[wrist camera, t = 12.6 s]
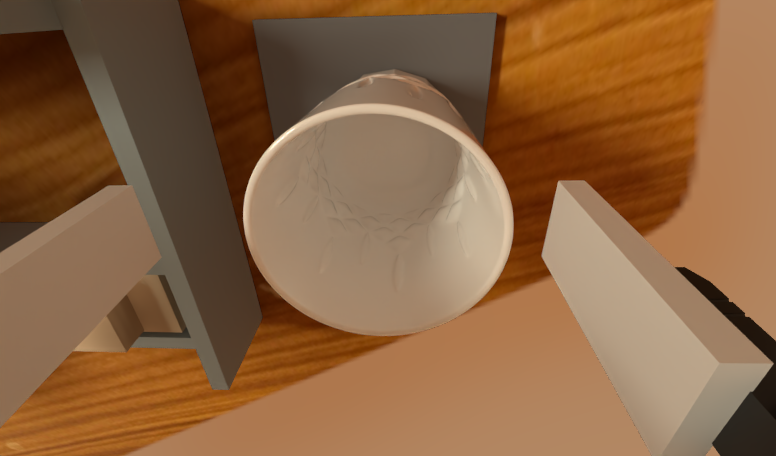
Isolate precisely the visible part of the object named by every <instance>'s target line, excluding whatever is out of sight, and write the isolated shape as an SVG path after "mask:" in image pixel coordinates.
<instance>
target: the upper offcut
mask: <svg viewBox="0 0 776 456" xmlns="http://www.w3.org/2000/svg"><path fill="white" fill-rule="evenodd" d="M143 331H144V328H143V326H142V324H141V322H140V320H139V318H138V316H137V314H136V312H135V310H134V308H133V306H132V304H131V302H130V300H129V298H128V296H127V294H126V295H125V296H124V298H123V299H122V300H121V301H120V302H119V303H118V304H117V305H116V306H115V307H114V308H113V309H112V310H111V311H110V312H109V313H108V314H107V315H106V317H105V318H104V319H103V320H102V321H101V322H100V323H99V324H98V325H97V326H96V327H95V328H94V329H93V330H92V331H91V332H90V333H89V335H88V336H87V337H86V338H85V339H84V340H83V341H82V342H81V343H80V344H79V345H78V346H77V347H76V348H75V349H74V350H73V351H96V352H127V351H128V350H129V349H130V347H131V346H132V345H133V344H134V342H135V341H136V340H137V339H138V338H139V336H140V335H141V334H142V333H143Z"/></svg>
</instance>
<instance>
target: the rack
mask: <svg viewBox="0 0 776 456" xmlns="http://www.w3.org/2000/svg"><path fill="white" fill-rule="evenodd" d="M51 30H63V31H64V33H65V36H66V38H67V40H68V43H69V45H70V48H71V50H72V52H73V55H74V57H75V60H76V62H77V64H78V67H79V69H80V72H81V74H82V77H83V79H84V81H85V84H86V86H87V89H88V91H89V93H90V96H91V98H92V101H93V103H94V105H95V108H96V110H97V113H98V115H99V117H100V120H101V122H102V125H103V127H104V129H105V132H106V134H107V137H108V139H109V141H110V144H111V146H112V149H113V151H114V154H115V156H116V158H117V161H118V163H119V166H120V168H121V170H122V173H123V175H124V178H125V180H126V182H127V185H132V186H133V189H134V191H135V194H136V196H137V199H138V201H139V203H140V206H141V208H142V211H143V213H144V216H145V218H146V220H147V223H148V225H149V228H150V230H151V233H152V235H153V238H154V240H155V242H156V245H157V247H158V250H159V252H160V255H161V258H160V260H159V261H158V262H157V263H156V264H155V265H154V266H153V267H152V268H151V269H150V270H149V271H148V272H147V273H146V274H145V275H165V276H166V279H167V281H168V283H169V286H170V288H171V291H172V293H173V295H174V298H175V300H176V303H177V305H178V308H179V310H180V312H181V315H182V317H183V320H184V322H185V324H186V328H185V329H184V331H183V332H182V333H178V332H143V333H142V334H141V335H140V336H139V338H138V339H137V340H136V341H135V342H134V344H133V345H132V346H131V347H139V348H183V349H196V351H197V353H198V356H199V358H200V360H201V363H202V365H203V368H204V370H205V372H206V375H207V377H208V380H209V382H210V385H211V387H212V389H218V390H229V388H230V386H231V384H232V382H233V380H234V378H235V376H236V373H237V371H238V369H239V367H240V365H241V363H242V361H243V359H244V356H245V354H246V352H247V350H248V348H249V346H250V344H251V342H252V339H253V337H254V335H255V333H256V331H257V329H258V327H259V324H260V322H261V320H262V318H263V316H262V313H261V309H260V305H259V302H258V298H257V294H256V290H255V287H254V283H253V279H252V275H251V272H250V268H249V264H248V260H247V257H246V253H245V249H244V245H243V242H242V238H241V234H240V230H239V227H238V223H237V219H236V215H235V212H234V208H233V204H232V200H231V197H230V193H229V189H228V186H227V182H226V178H225V174H224V171H223V167H222V163H221V159H220V156H219V152H218V148H217V144H216V141H215V137H214V133H213V129H212V126H211V122H210V118H209V114H208V111H207V107H206V103H205V99H204V96H203V92H202V88H201V84H200V81H199V77H198V73H197V69H196V66H195V62H194V58H193V55H192V51H191V47H190V43H189V40H188V36H187V32H186V28H185V25H184V21H183V17H182V13H181V10H180V6H179V2H178V0H0V34H10V33H24V32H37V31H51ZM47 223H49V222H0V252H2V251H4V250H5V249H7V248H9V247H10V246H12V245H13V244H15V243H17V242H18V241H20V240H21V239H23V238H25V237H26V236H28V235H29V234H31V233H33V232H34V231H36V230H38V229H39V228H41V227H42V226H44V225H46V224H47Z"/></svg>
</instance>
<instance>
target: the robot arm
mask: <svg viewBox="0 0 776 456" xmlns="http://www.w3.org/2000/svg"><path fill="white" fill-rule="evenodd" d="M160 258H161V255H160V252H159V250H158V247H157V245H156V242H155V240H154V238H153V235H152V233H151V230H150V228H149V225H148V223H147V220H146V218H145V216H144V213H143V211H142V208H141V206H140V203H139V201H138V199H137V196H136V194H135V191H134V189H133V186H132V185H115V186H107V187H105V188H104V189H102V190H100V191H99V192H97V193H96V194H94V195H92V196H91V197H89V198H88V199H86V200H84V201H83V202H81V203H79V204H78V205H76V206H75V207H73V208H71V209H70V210H68V211H67V212H65V213H63V214H62V215H60V216H59V217H57V218H55V219H54V220H52V221H50V222H49V223H47V224H46V225H44V226H42V227H41V228H39V229H38V230H36V231H34V232H33V233H31V234H29V235H28V236H26V237H25V238H23V239H21V240H20V241H18V242H17V243H15V244H13V245H12V246H10V247H9V248H7V249H5V250H4V251H2V252H0V427H1V426H2V425H3V424H4V423H5V422H6V421H7V420H8V419H9V418H10V417H11V416H12V415H13V414H14V413H15V412H16V411H17V409H18V408H19V407H20V406H21V405H22V404H23V403H24V402H25V401H26V400H27V399H28V398H29V397H30V396H31V395H32V394H33V393H34V392H35V390H36V389H37V388H38V387H39V386H40V385H41V384H42V383H43V382H44V381H45V380H46V379H47V378H48V377H49V376H50V375H51V374H52V373H53V371H54V370H55V369H56V368H57V367H58V366H59V365H60V364H61V363H62V362H63V361H64V360H65V359H66V358H67V357H68V356H69V355H70V354H71V352H72V351H73V350H74V349H75V348H76V347H77V346H78V345H79V344H80V343H81V342H82V341H83V340H84V339H85V338H86V337H87V336H88V335H89V333H90V332H91V331H92V330H93V329H94V328H95V327H96V326H97V325H98V324H99V323H100V322H101V321H102V320H103V319H104V318H105V317H106V315H107V314H108V313H109V312H110V311H111V310H112V309H113V308H114V307H115V306H116V305H117V304H118V303H119V302H120V301H121V300H122V299H123V298H124V296H125V295H126V294H127V293H128V292H129V291H130V290H131V289H132V288H133V287H134V286H135V285H136V284H137V283H138V282H139V281H140V280H141V279H142V277H143V276H144V275H145V274H146V273H147V272H148V271H149V270H150V269H151V268H152V267H153V266H154V265H155V264H156V263H157V262H158V261H159V260H160ZM542 258H543V260H544V262H545V264H546V265H547V267H548V269H549V271H550V273H551V274H552V276H553V278H554V280H555V282H556V284H557V285H558V287H559V289H560V291H561V293H562V294H563V296H564V298H565V300H566V302H567V303H568V305H569V307H570V309H571V311H572V312H573V314H574V316H575V318H576V320H577V321H578V323H579V325H580V327H581V329H582V330H583V332H584V334H585V336H586V338H587V340H588V341H589V343H590V345H591V347H592V349H593V351H594V352H595V354H596V356H597V358H598V360H599V361H600V363H601V365H602V367H603V369H604V370H605V372H606V374H607V376H608V378H609V379H610V381H611V383H612V385H613V387H614V389H615V390H616V392H617V394H618V396H619V398H620V399H621V401H622V403H623V405H624V407H625V408H626V410H627V412H628V414H629V416H630V417H631V419H632V421H633V423H634V425H635V426H636V428H637V430H638V432H639V434H640V436H641V437H642V439H643V441H644V443H645V445H646V446H647V448H648V450H649V452H650V454H651V456H705V455H706V454H707V453H708V451H709V450H710V448H711V447H712V446H714V447H715V449H716V450H717V452H718V453H719V454H720V456H776V341H775V340H774V339H773V338H772V337H771V336H770V335H768V334H767V333H766V332H765V331H764V330H763V329H762V328H761V327H760V326H759V325H757V324H756V323H755V322H754V321H753V320H752V319H751V318H750V317H745V313H744V312H743V311H742V310H741V309H740V308H739V307H737V306H736V305H735V304H734V303H733V302H729V298H727V297H726V296H725V295H724V294H723V293H722V292H721V291H720V290H719V289H718V288H716V287H715V286H714V285H713V284H712V283H711V282H710V281H708V280H706V279H704V278H703V277H701V276H699V275H697V274H695V273H694V272H692V271H690V270H688V269H687V268H685V267H673V266H672V265H671V264H670V263H669V262H668V261H667V260H666V259H665V258H664V257H663V256H662V255H661V254H660V253H659V252H658V251H657V250H656V249H655V248H654V247H653V246H652V245H651V244H650V243H649V242H647V240H646V239H645V238H644V237H642V236H641V235H640V234H639V233H638V232H637V231H636V230H635V229H634V228H633V227H632V226H631V225H630V224H629V223H628V222H627V221H626V220H625V219H624V218H623V217H622V216H621V215H620V214H619V213H618V212H617V211H616V210H615V209H614V208H613V207H611V206H610V205H609V204H608V203H607V202H606V201H605V200H604V199H603V198H602V197H601V196H600V195H599V194H598V193H597V192H596V191H595V190H594V189H593V188H592V187H591V186H590V185H589V184H588V183H587V182H586V181H585V180H571V181H558V184H557V189H556V193H555V198H554V202H553V207H552V211H551V216H550V220H549V225H548V229H547V234H546V238H545V242H544V247H543V251H542Z"/></svg>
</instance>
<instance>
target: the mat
mask: <svg viewBox="0 0 776 456" xmlns="http://www.w3.org/2000/svg"><path fill="white" fill-rule="evenodd" d="M496 16H497V13H468V14H433V15H398V16H364V17H329V18H294V19H259V20H252V21H253V27H254V32H255V38H256V43H257V48H258V54H259V59H260V65H261V70H262V75H263V81H264V86H265V92H266V97H267V102H268V108H269V113H270V119H271V124H272V130H273V135H274V140H276V139H277V138H279V137H280V136H281V135H282V134H283V133H284V132H286V131H287V130H288V129H289V128H291V127H292V126H293V125H294V124H296V123H297V122H298V121H299V120H301V119H302V118H303V117H304V116H306V115H307V114H308V113H309V112H311V111H312V110H313V109H314V108H315V107H316V106H317V105H318V104H320V103H321V102H322V101H323V100H325V99H326V98H328V97H329V96H331V95H332V94H334V93H335V92H337V91H338V90H340V89H341V88H342V87H344V86H346V85H347V84H349V83H351V82H353V81H356V80H357V79H359V78H360V77H361V76H362V75H364V74H369V73H375V72H380V71H386V70H391V69H397V70H400V71H404V72H407V73H410V74H413V75H417V76H420V77H423V78H426V79H427V80H428V81H429V82H430V83H431V84H432V85H433V86H434V87H435V88H436V89H437V90H438V91H439V92H440V93H442V94H443V95H444V96H445V97H446V98H447V99H448V100H449V101H450V102H451V104H452V105H453V106H454V107H455V108H456V110H457V111H458V112H459V113H460V115H461V116H462V117H463V119H464V120H465V121H466V123H467V124H468V126H469V127H470V129H471V130H472V132H473V133H474V135H475V136H476V138H477V140H478V141H479V143H480V144H481V146H482V147H483V138H484V129H485V120H486V110H487V101H488V91H489V82H490V73H491V63H492V54H493V44H494V35H495V25H496Z"/></svg>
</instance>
